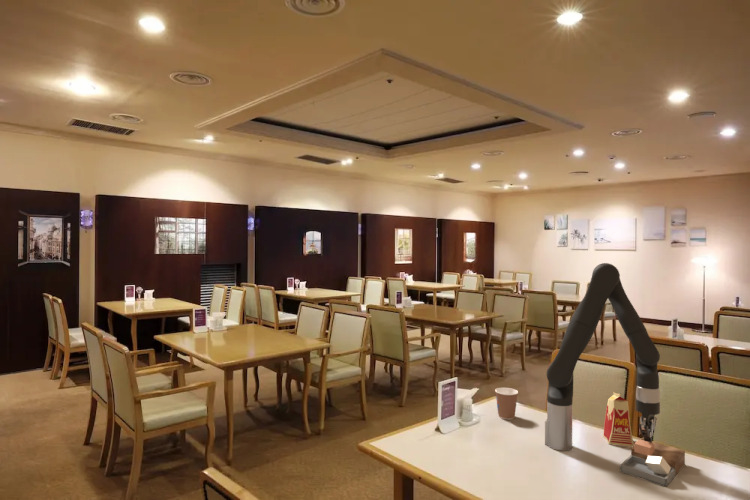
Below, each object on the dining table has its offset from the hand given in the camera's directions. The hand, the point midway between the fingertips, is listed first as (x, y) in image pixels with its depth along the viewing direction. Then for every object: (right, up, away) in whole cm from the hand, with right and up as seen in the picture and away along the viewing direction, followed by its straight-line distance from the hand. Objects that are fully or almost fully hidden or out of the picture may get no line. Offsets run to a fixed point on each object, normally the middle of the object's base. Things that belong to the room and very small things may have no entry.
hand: (647, 446), depth 170 cm
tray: (-5, -6, -9) cm, 12 cm away
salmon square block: (-3, -1, -3) cm, 4 cm away
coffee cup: (-39, -6, +44) cm, 59 cm away
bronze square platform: (+3, -6, -1) cm, 7 cm away
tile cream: (-2, -1, -11) cm, 11 cm away
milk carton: (-2, -6, +18) cm, 19 cm away
